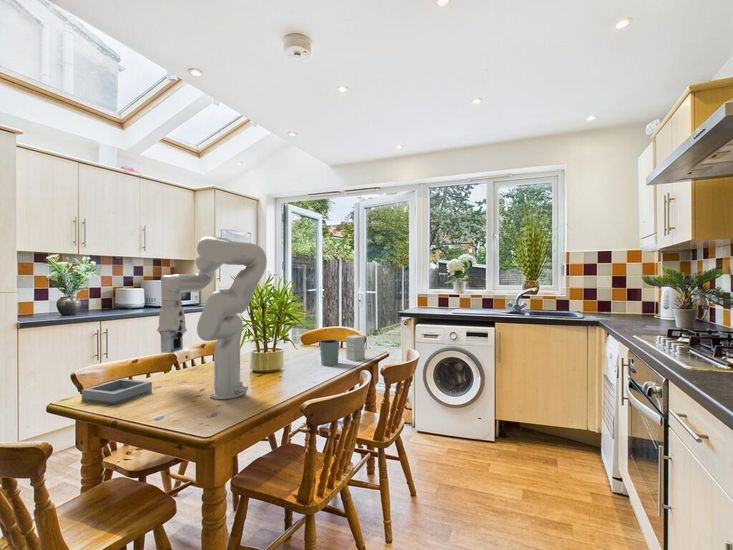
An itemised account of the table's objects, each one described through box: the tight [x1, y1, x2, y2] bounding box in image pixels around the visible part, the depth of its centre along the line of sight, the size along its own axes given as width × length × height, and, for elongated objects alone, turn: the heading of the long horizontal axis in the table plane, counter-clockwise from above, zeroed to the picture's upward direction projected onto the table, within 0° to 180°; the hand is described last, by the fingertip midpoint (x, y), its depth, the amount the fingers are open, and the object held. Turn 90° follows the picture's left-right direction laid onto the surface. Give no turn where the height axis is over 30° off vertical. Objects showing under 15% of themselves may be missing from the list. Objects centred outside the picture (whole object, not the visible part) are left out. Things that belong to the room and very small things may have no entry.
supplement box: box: [345, 334, 366, 362], centre depth 211 cm, size 7×7×13 cm
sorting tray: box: [81, 378, 153, 406], centre depth 148 cm, size 16×16×4 cm
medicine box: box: [160, 331, 184, 354], centre depth 162 cm, size 8×4×9 cm, turn 168°
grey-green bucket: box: [319, 339, 340, 367], centre depth 199 cm, size 10×10×12 cm
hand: (172, 347), depth 162 cm, fingers closed on medicine box, 4 cm apart
